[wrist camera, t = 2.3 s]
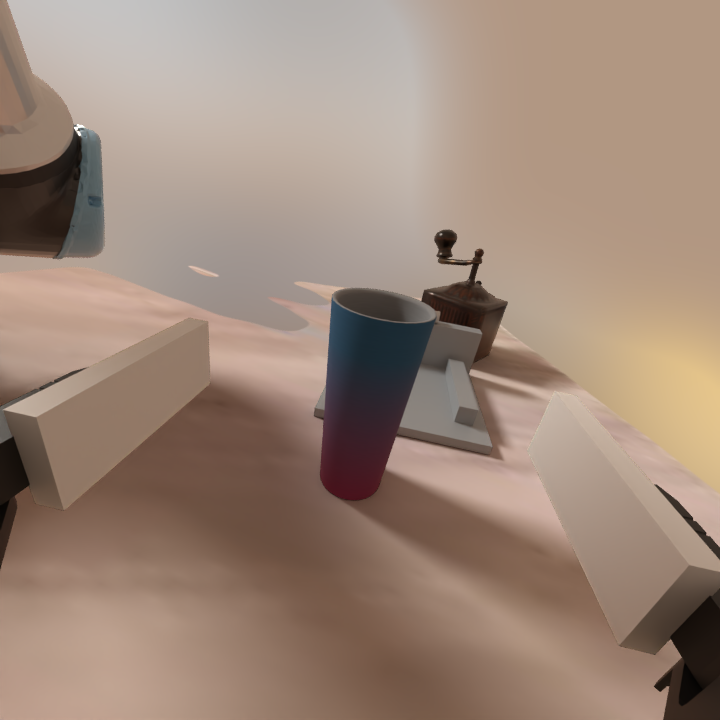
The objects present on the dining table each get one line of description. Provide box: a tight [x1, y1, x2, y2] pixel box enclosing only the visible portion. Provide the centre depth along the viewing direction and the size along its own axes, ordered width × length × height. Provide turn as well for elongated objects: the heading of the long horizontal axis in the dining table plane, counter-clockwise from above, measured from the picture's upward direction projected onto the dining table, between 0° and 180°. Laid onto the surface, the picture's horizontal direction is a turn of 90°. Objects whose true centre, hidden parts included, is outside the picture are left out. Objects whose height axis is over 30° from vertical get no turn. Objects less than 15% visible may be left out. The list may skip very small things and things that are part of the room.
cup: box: [320, 288, 437, 500], centre depth 25 cm, size 7×7×15 cm
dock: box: [314, 311, 493, 455], centre depth 41 cm, size 18×18×9 cm
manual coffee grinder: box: [421, 230, 508, 363], centre depth 56 cm, size 16×11×18 cm
